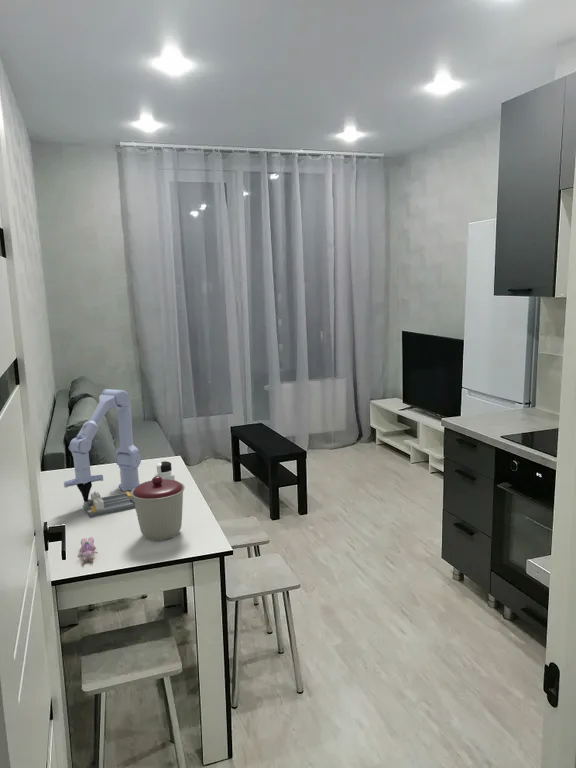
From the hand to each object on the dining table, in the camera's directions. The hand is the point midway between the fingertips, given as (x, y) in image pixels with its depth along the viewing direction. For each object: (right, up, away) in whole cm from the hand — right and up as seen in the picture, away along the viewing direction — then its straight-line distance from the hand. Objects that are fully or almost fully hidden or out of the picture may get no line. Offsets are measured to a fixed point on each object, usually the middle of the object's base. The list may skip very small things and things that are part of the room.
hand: (85, 501), depth 231 cm
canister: (+36, -6, -27) cm, 46 cm away
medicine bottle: (+28, +1, +17) cm, 33 cm away
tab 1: (+3, -1, +2) cm, 4 cm away
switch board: (+10, -2, +1) cm, 11 cm away
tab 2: (+7, -2, -5) cm, 9 cm away
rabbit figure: (+15, -10, -41) cm, 44 cm away
